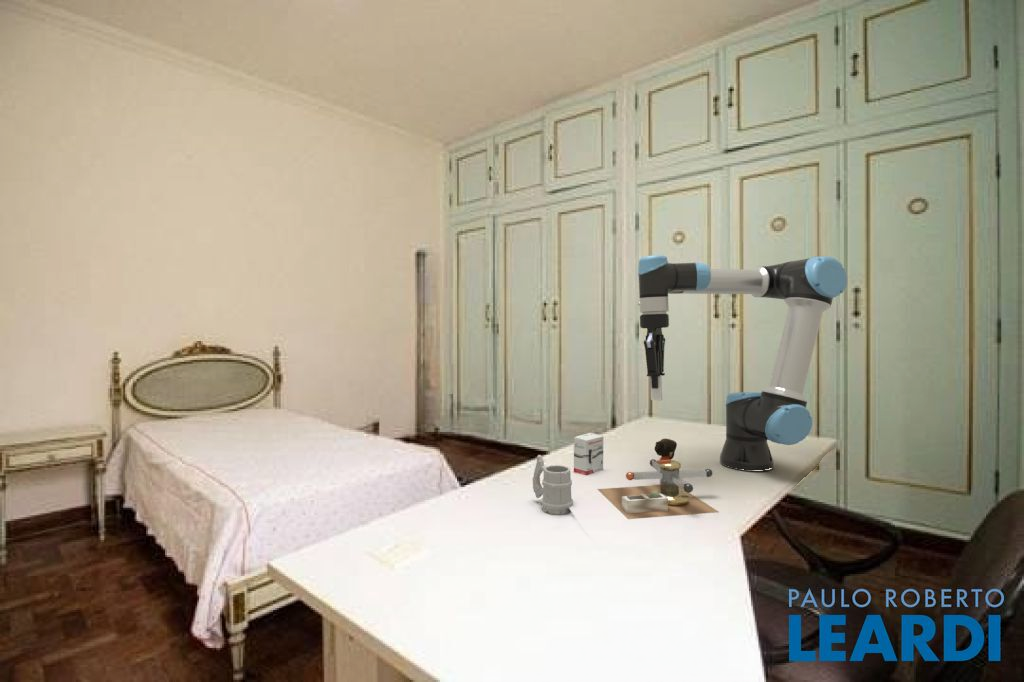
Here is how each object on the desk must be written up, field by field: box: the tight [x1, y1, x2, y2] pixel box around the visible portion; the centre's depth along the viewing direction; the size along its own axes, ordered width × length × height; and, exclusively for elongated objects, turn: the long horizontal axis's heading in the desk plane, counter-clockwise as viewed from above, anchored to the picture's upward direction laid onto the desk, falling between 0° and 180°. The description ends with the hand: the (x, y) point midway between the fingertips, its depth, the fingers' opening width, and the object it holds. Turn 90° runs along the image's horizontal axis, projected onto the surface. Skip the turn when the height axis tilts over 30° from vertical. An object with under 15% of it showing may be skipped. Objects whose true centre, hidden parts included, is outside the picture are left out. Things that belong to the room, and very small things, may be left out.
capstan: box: [625, 459, 713, 505], centre depth 119 cm, size 22×22×9 cm
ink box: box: [573, 432, 604, 476], centre depth 143 cm, size 8×5×12 cm, turn 134°
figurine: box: [654, 438, 678, 460], centre depth 137 cm, size 6×6×12 cm
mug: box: [532, 454, 574, 516], centre depth 118 cm, size 8×12×12 cm, turn 43°
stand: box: [597, 484, 720, 520], centre depth 119 cm, size 22×20×6 cm
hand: (656, 399), depth 132 cm, fingers closed
